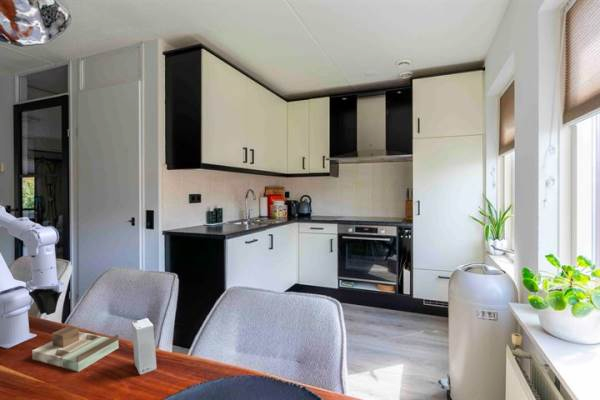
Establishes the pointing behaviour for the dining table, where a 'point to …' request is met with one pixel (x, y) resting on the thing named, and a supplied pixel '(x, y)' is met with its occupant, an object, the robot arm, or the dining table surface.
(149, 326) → the skincare box
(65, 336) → the walnut block
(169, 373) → the dining table surface
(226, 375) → the dining table surface
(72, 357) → the box
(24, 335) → the robot arm
